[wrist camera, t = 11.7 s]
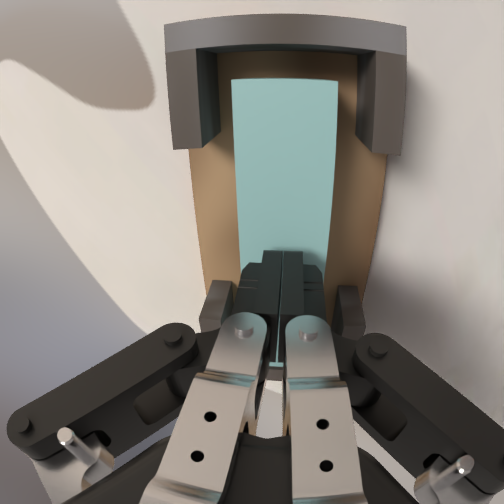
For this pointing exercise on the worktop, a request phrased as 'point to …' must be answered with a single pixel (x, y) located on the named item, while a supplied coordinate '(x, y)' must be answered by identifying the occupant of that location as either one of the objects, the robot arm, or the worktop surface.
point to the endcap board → (347, 137)
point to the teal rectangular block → (284, 167)
